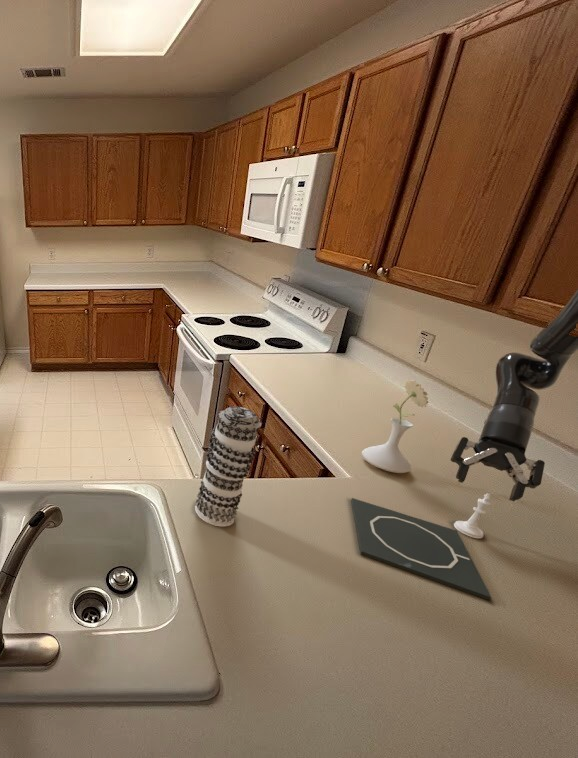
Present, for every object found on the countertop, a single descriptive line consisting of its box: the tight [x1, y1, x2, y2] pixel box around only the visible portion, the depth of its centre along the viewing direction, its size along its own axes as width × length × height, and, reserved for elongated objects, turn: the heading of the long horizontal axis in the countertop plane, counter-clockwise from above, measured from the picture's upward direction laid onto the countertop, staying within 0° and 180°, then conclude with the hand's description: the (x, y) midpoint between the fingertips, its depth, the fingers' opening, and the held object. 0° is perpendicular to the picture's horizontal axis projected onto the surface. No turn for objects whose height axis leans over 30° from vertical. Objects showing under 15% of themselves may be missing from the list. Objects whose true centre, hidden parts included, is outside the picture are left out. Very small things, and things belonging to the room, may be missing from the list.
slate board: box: [350, 497, 492, 601], centre depth 86 cm, size 20×20×1 cm
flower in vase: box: [361, 379, 429, 474], centre depth 112 cm, size 13×11×25 cm
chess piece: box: [453, 493, 491, 539], centre depth 90 cm, size 5×5×10 cm
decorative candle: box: [194, 406, 263, 528], centre depth 86 cm, size 9×9×25 cm
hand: (486, 490), depth 90 cm, fingers open, 8 cm apart
